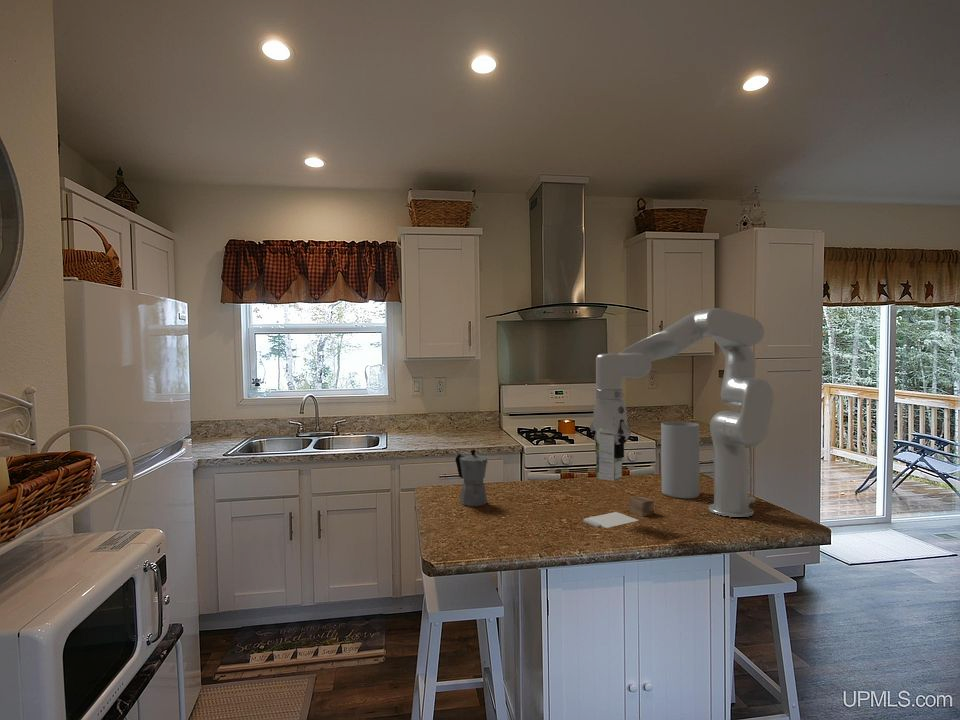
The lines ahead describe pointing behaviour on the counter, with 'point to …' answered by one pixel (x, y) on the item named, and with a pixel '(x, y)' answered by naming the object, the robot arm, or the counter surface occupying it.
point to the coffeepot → (472, 478)
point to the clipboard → (609, 520)
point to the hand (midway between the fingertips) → (609, 455)
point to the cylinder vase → (680, 459)
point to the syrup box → (607, 457)
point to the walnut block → (642, 506)
